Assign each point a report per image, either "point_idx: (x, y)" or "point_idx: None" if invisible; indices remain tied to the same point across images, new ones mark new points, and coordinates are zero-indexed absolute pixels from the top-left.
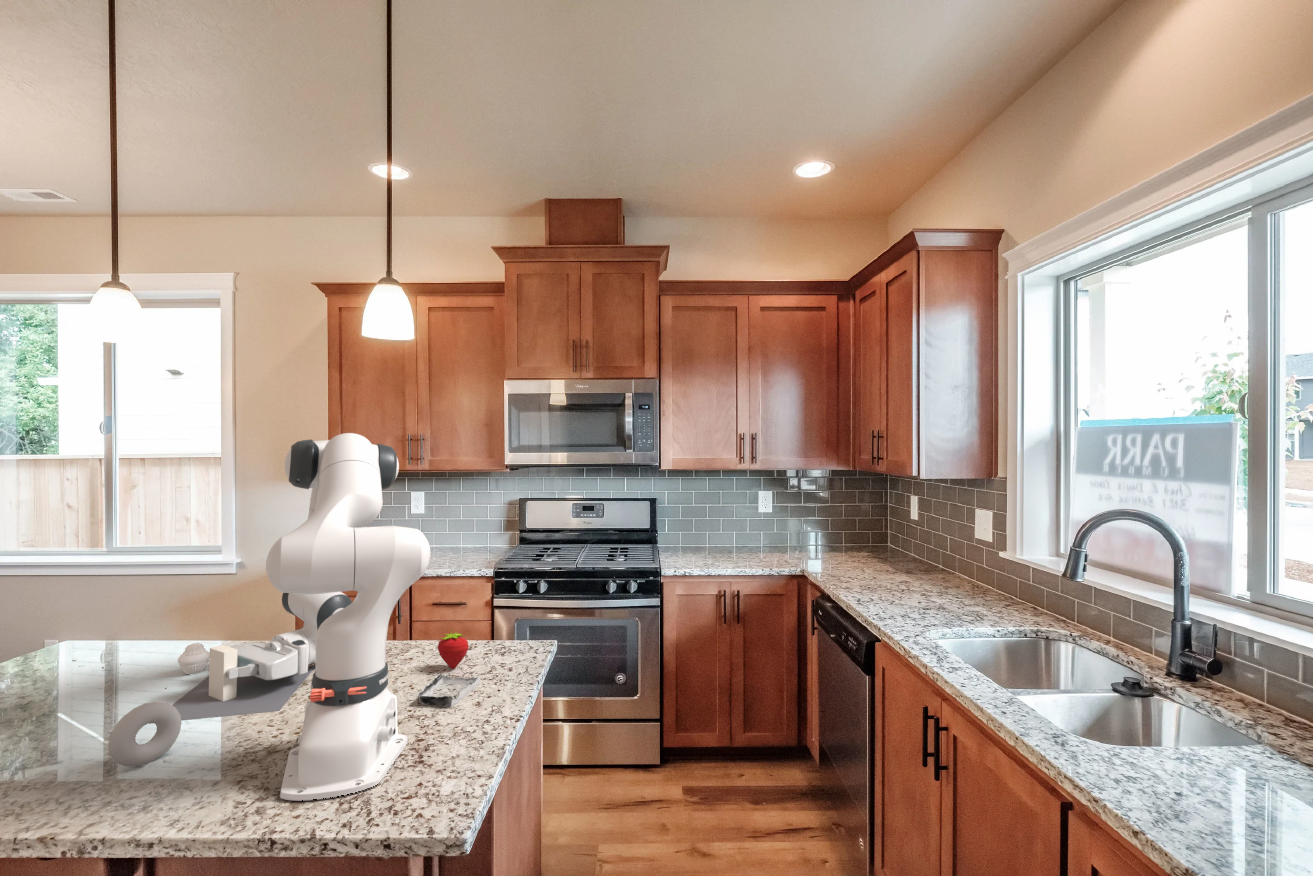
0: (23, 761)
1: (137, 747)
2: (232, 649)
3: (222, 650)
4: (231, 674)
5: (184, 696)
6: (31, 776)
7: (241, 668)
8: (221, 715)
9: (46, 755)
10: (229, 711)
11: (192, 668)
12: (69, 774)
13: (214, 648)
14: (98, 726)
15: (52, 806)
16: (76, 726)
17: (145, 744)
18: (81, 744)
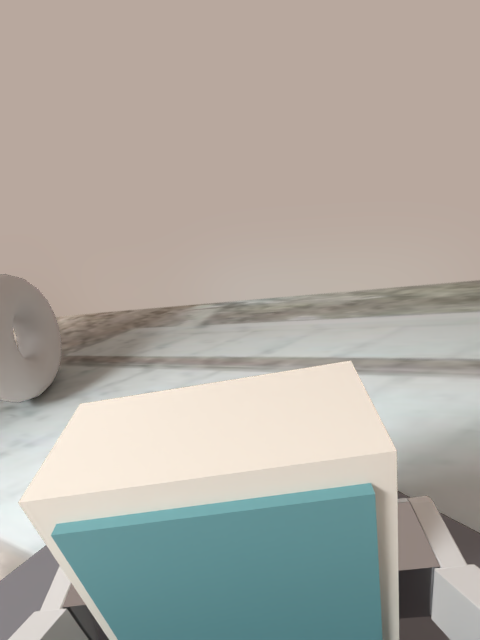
0: (256, 304)
1: (18, 344)
2: (80, 467)
3: (161, 407)
4: None
5: (445, 523)
6: (186, 313)
7: (17, 632)
8: (44, 555)
9: (251, 316)
10: (39, 597)
11: None
12: (139, 334)
13: (298, 378)
14: (340, 351)
15: (70, 329)
16: (379, 330)
17: (22, 354)
18: (252, 338)
